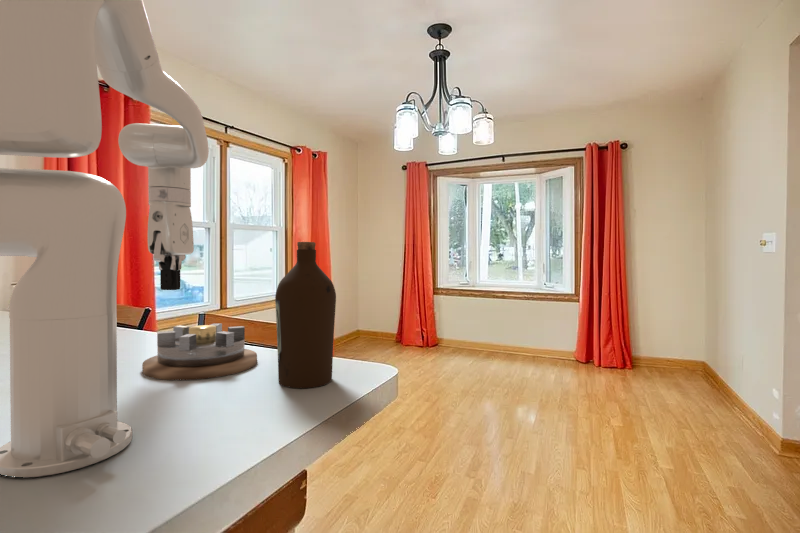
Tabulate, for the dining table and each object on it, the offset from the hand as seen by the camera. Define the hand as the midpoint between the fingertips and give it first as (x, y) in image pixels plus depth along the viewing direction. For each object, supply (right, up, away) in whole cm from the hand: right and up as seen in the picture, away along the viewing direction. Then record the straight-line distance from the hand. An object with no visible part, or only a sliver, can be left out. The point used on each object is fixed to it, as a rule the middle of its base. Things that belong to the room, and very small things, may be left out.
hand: (170, 289), depth 87 cm
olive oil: (+29, -16, -10) cm, 35 cm away
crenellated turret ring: (+6, -14, 0) cm, 15 cm away
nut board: (+6, -15, 0) cm, 17 cm away
